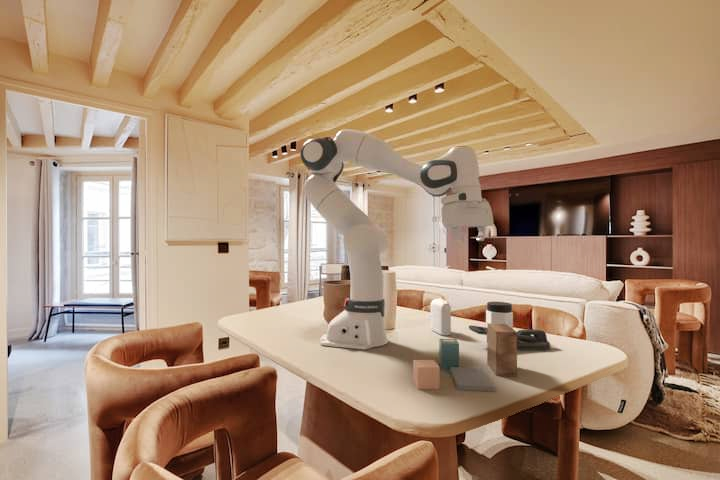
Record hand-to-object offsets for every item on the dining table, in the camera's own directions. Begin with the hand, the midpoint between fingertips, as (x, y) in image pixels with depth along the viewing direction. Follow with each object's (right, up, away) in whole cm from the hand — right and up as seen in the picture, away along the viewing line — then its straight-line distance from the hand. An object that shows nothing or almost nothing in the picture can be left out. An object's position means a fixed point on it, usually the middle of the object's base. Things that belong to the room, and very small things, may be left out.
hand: (470, 241), depth 112 cm
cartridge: (-11, -34, -16) cm, 39 cm away
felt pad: (-8, -33, -25) cm, 43 cm away
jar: (+14, -34, +14) cm, 40 cm away
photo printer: (-5, -34, +21) cm, 40 cm away
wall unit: (+2, -34, -18) cm, 38 cm away
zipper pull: (+13, -34, +2) cm, 37 cm away
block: (-19, -33, -28) cm, 48 cm away
